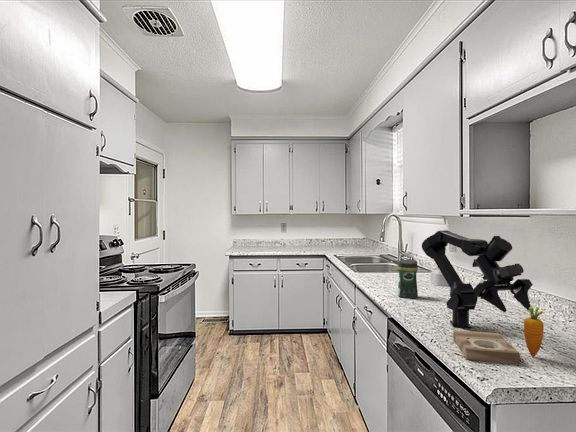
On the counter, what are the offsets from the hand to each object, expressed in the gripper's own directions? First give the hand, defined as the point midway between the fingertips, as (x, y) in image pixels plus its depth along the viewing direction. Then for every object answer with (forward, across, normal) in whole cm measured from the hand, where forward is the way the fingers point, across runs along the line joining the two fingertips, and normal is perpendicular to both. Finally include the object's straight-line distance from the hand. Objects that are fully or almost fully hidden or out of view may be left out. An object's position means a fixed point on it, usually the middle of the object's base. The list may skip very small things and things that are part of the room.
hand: (517, 310), depth 118 cm
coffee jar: (-43, +7, +60) cm, 74 cm away
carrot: (+13, 0, +5) cm, 14 cm away
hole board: (+7, -11, +10) cm, 16 cm away
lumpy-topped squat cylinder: (-59, +45, +76) cm, 107 cm away
